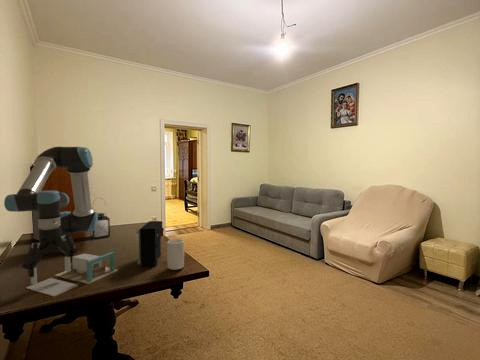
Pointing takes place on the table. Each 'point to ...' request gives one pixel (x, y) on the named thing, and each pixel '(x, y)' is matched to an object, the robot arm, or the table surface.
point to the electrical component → (150, 243)
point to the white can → (175, 254)
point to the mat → (52, 287)
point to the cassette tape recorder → (35, 225)
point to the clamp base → (82, 277)
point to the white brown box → (84, 262)
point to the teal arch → (90, 262)
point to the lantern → (101, 226)
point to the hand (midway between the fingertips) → (52, 277)
